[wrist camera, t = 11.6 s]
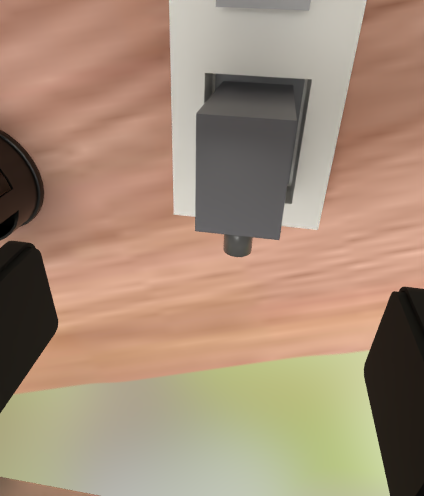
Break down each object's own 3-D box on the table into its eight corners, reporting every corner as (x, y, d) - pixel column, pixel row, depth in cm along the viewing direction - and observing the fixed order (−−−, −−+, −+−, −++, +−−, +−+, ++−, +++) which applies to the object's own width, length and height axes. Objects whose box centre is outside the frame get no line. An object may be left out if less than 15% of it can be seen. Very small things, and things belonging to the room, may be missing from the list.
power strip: (185, -169, 19) (122, -280, 12) (388, -172, 18) (460, -297, 11) (186, 191, 30) (153, 252, 23) (314, 204, 29) (324, 272, 22)
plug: (223, 80, 24) (195, 113, 17) (292, 85, 24) (296, 120, 16) (218, 193, 29) (195, 259, 21) (277, 198, 28) (275, 268, 20)
